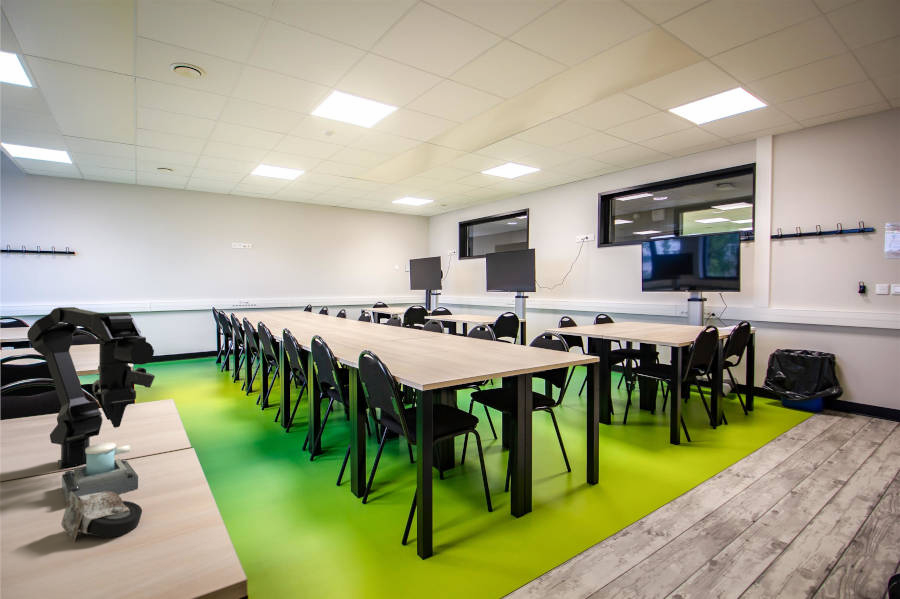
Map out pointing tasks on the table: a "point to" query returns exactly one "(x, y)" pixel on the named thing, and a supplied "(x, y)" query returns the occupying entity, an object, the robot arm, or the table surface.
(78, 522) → the caster wheel
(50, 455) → the table surface
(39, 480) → the table surface
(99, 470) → the pump canister
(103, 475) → the grey metal socket plate
